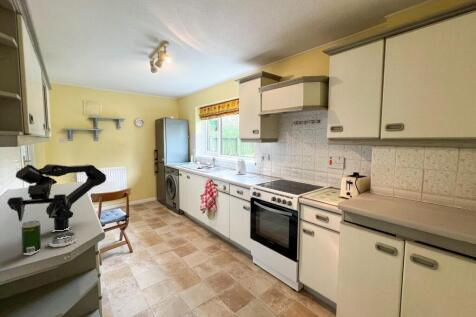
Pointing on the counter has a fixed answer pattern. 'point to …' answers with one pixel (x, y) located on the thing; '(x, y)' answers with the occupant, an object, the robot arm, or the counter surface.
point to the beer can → (31, 236)
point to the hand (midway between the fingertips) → (34, 219)
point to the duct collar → (64, 240)
